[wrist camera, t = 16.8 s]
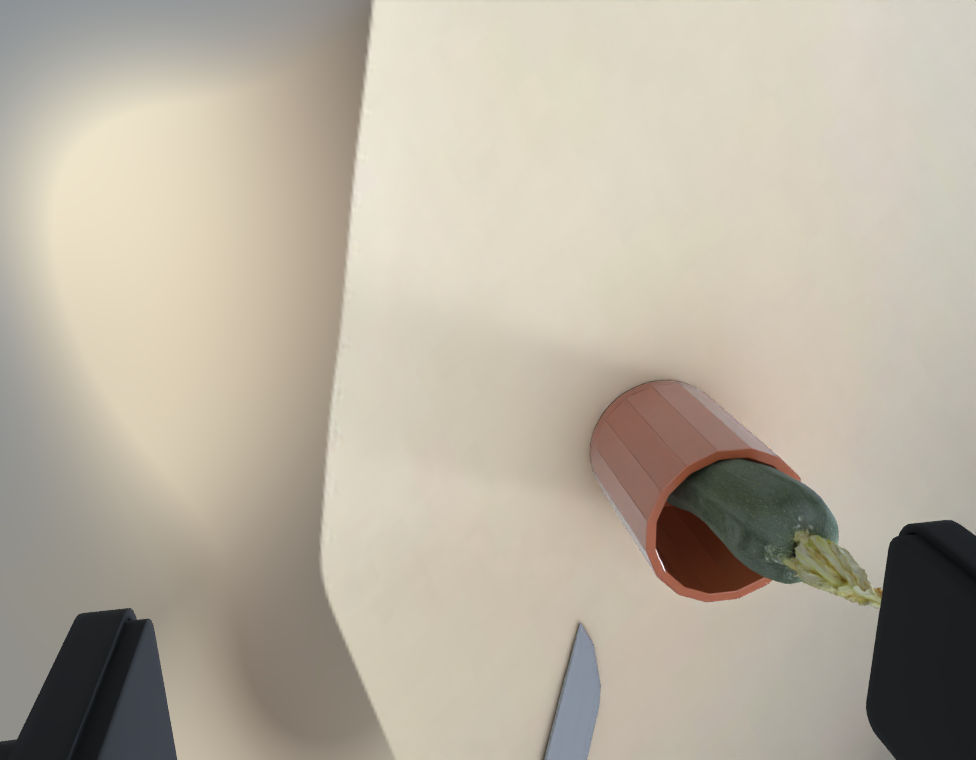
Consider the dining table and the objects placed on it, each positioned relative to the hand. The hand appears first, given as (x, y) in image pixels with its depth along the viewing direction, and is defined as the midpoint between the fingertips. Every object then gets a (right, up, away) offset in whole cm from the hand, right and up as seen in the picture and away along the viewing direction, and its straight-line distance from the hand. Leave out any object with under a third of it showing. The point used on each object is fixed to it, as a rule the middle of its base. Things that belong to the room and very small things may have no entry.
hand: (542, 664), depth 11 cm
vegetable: (+9, -1, +40) cm, 41 cm away
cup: (+9, 0, +41) cm, 42 cm away
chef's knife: (+4, -20, +47) cm, 51 cm away
